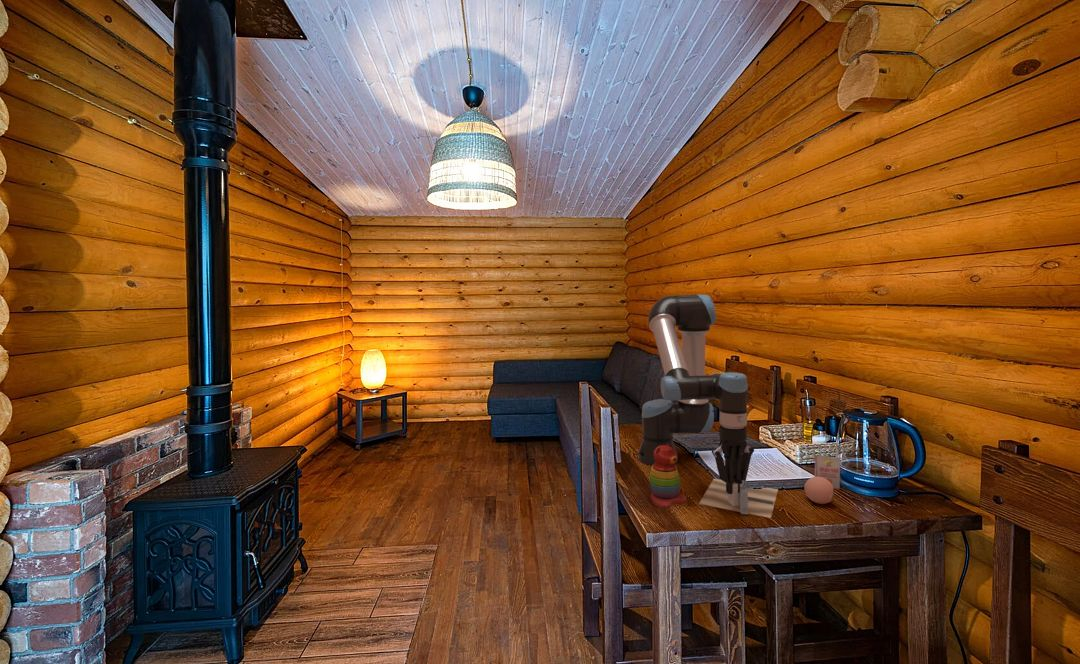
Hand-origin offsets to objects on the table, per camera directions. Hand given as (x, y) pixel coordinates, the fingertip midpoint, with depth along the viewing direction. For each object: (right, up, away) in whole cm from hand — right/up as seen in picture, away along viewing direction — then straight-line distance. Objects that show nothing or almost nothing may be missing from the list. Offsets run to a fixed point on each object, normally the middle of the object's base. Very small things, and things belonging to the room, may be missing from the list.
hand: (732, 503), depth 138 cm
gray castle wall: (+3, -1, +2) cm, 4 cm away
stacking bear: (-17, -3, +9) cm, 20 cm away
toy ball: (+28, -1, +4) cm, 28 cm away
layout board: (+5, -2, +9) cm, 11 cm away
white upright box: (+38, 0, +16) cm, 41 cm away
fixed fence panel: (+8, -1, +14) cm, 16 cm away
